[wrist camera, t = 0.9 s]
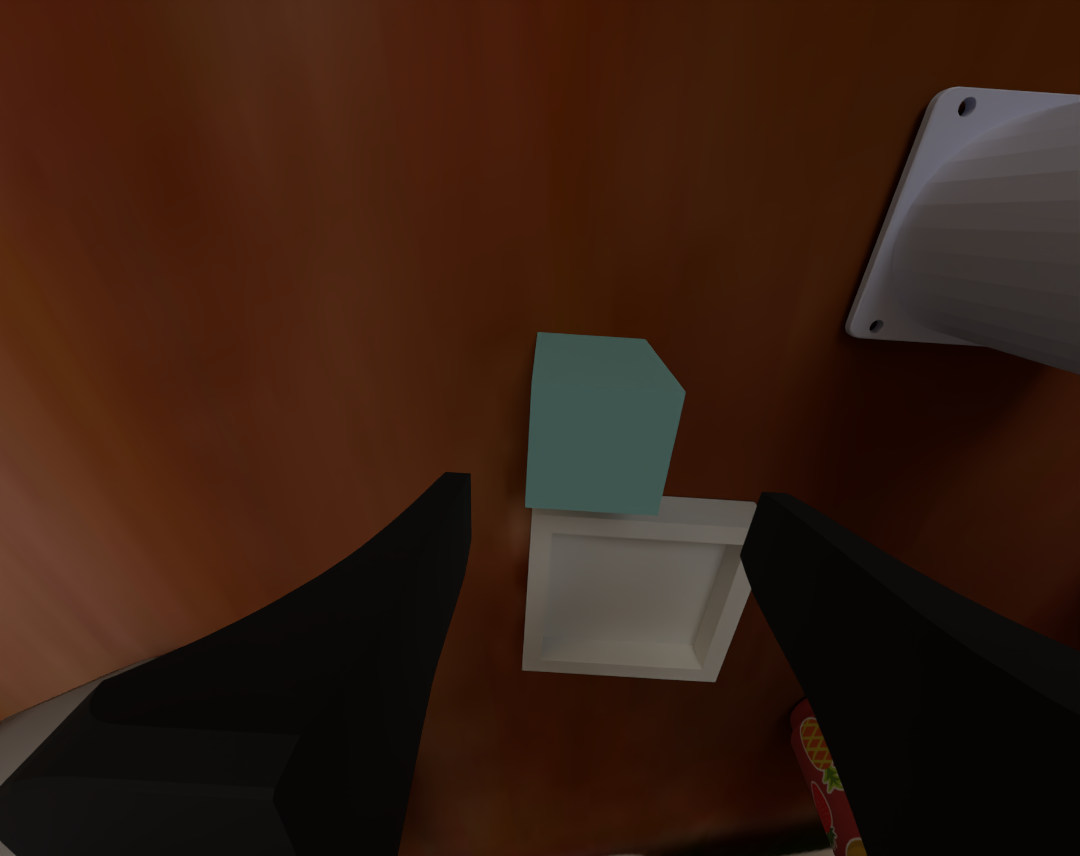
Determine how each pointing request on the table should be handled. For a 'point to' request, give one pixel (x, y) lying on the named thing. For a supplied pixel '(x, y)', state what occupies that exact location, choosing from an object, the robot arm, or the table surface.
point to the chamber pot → (40, 727)
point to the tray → (636, 589)
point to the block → (600, 425)
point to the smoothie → (824, 783)
